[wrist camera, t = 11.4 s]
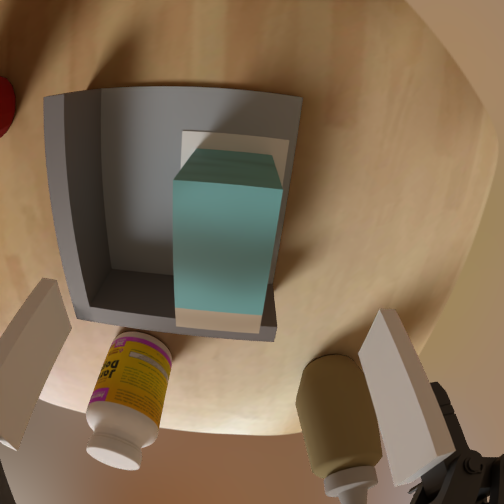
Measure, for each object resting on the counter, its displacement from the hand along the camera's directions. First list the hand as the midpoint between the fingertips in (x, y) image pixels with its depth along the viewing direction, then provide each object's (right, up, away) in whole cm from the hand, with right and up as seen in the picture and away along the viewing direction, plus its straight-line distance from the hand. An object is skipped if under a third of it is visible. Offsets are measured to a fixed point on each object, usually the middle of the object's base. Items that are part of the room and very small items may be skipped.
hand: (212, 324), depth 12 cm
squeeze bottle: (+10, -10, +20) cm, 25 cm away
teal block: (0, +6, +10) cm, 12 cm away
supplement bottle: (-10, -7, +19) cm, 22 cm away
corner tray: (-4, +7, +10) cm, 13 cm away
